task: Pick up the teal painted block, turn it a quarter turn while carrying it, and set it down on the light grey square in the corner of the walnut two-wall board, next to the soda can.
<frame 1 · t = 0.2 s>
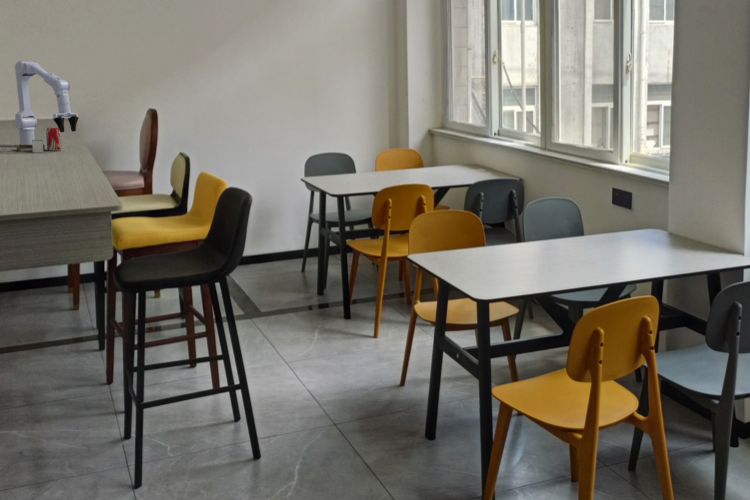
hand: (68, 131, 386), 10 cm above the table, tool pointing down, fingers open, 7 cm apart
block: (38, 152, 384), on the table
soda can: (54, 150, 394), on the table
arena: (30, 150, 389), on the table
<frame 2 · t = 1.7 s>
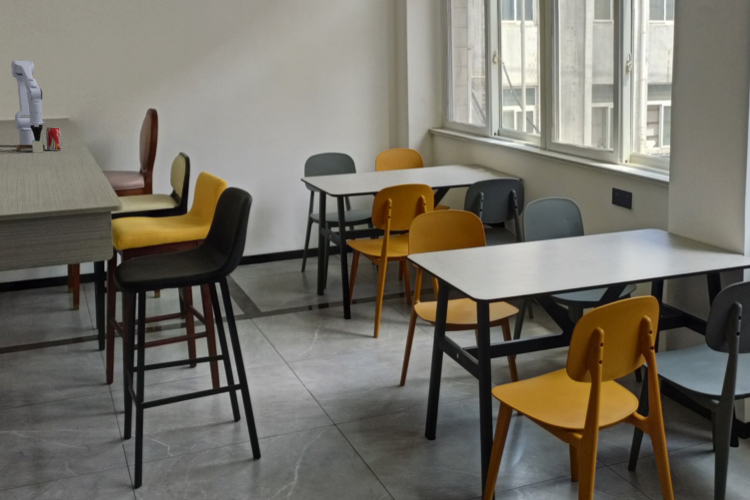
hand: (37, 140, 383), 6 cm above the table, tool pointing down, fingers open, 7 cm apart
nothing on the table moved.
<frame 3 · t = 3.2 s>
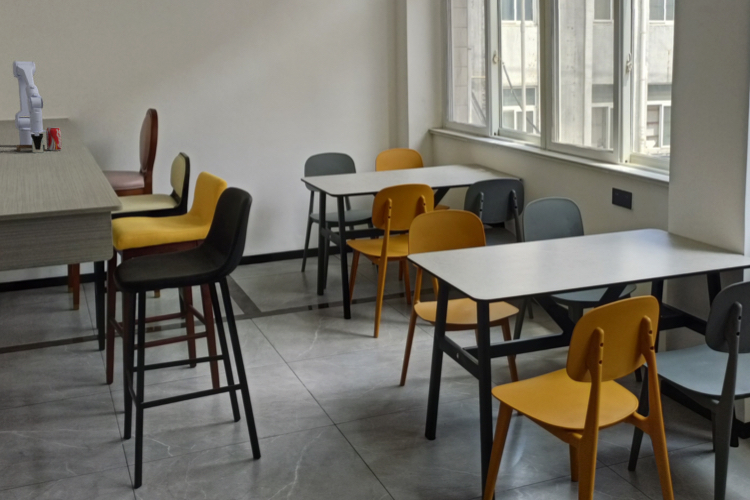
hand: (37, 148, 384), 2 cm above the table, tool pointing down, fingers closed on block, 5 cm apart
block: (38, 152, 384), on the table, touching gripper
everything else where it was.
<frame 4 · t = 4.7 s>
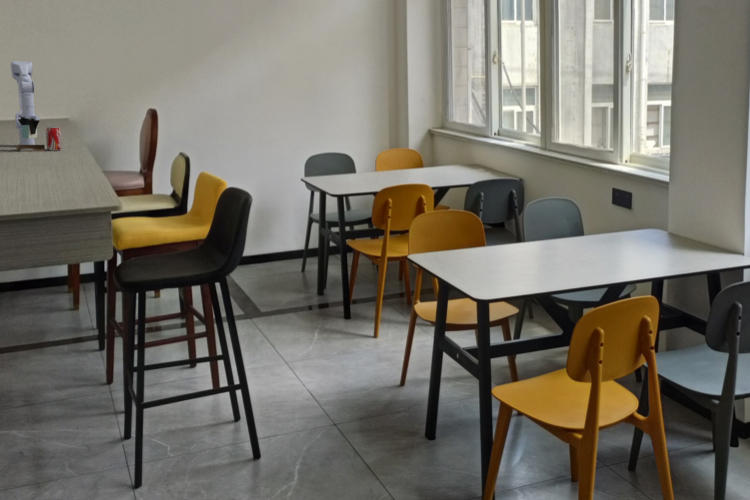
hand: (29, 133, 385), 9 cm above the table, tool pointing down, fingers closed on block, 5 cm apart
block: (30, 137, 385), point 7 cm above the table, touching gripper
everything else where it was.
when the fingers open (4 cm above the table, at t = 6.6 s): block drops 1 cm, resting on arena.
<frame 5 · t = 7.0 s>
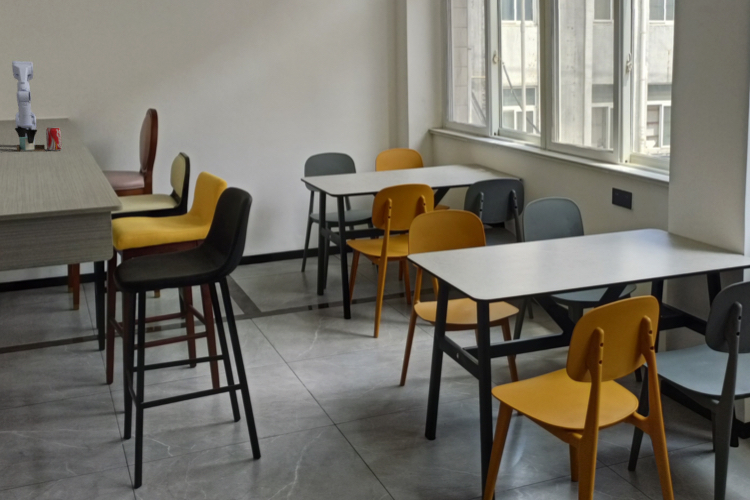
hand: (26, 142, 387), 4 cm above the table, tool pointing down, fingers open, 7 cm apart
block: (27, 149, 388), point 1 cm above the table, touching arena
everything else where it was.
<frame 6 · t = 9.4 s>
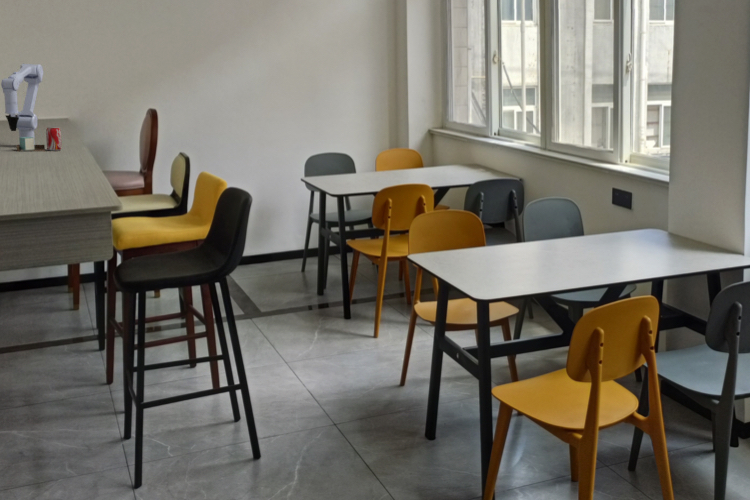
hand: (13, 130, 386), 10 cm above the table, tool pointing down, fingers open, 7 cm apart
nothing on the table moved.
at the end: block 0.1 cm from the target spot, point 0.6 cm above the table; block tilted 0°; the gripper is holding nothing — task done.
